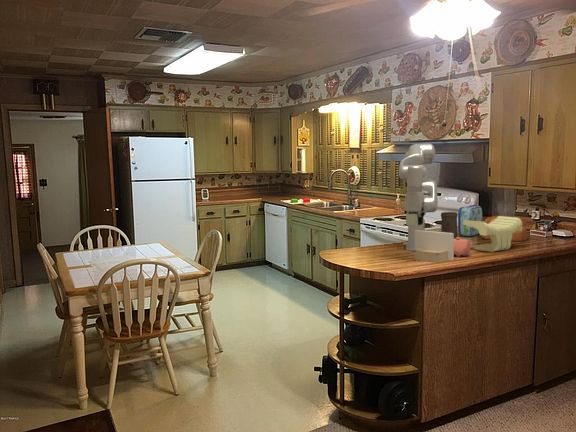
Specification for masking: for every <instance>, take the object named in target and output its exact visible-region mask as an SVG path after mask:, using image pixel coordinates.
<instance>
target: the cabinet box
mask: <svg viewBox="0 0 576 432" xmlns="http://www.w3.org/2000/svg"><path fill="white" fill-rule="evenodd" d="M418 217H419V215H418V212H412V213H409V214H405V226H407V227H408V226H420V225H418ZM424 220H425V216H424V217H423V224H421V225H424Z"/></svg>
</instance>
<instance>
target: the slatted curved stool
mask: <svg viewBox="0 0 576 432" xmlns="http://www.w3.org/2000/svg"><path fill="white" fill-rule="evenodd" d="M497 216H498V217H497V219H495V220H493V221H492V222H490V223H489V224H487V223H484V221H482V222H480V221H470V220H463V225H467V226H470V227H473V228H475V229H478V231H479V234H478V235H479V236H482V235H484V236H487V235H489V236H490V238H491V239H490V241H491V243H484V244H475V245H474V246H473V250H479V251H484V252H489V253H492V252H500V251H507V250H510V248H511V245H512V241H511V239H512V233H514V232H515V231H522V221H521V220H520V219H519V218H520V217H517V216H508V217H504V216H505V215H497ZM516 217H517V218H516Z"/></svg>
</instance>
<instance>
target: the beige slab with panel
mask: <svg viewBox="0 0 576 432" xmlns="http://www.w3.org/2000/svg"><path fill="white" fill-rule="evenodd" d="M454 256H455V255H454V233H445V232H441V231H434V230H433V231H432V230H425V231H421V230H415V250H414V251H413V260H416V261H423V262H429V263H437V264H438V263H442V262H446V261H454Z"/></svg>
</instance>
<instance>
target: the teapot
mask: <svg viewBox="0 0 576 432" xmlns="http://www.w3.org/2000/svg"><path fill="white" fill-rule="evenodd" d="M471 242H472V240H468V239H464V238H461V236H460V237H459V236H457V237H456V239H454V256H456V258H461V256H462V257H467V255H469V254H470V251H471V249H470V248H471V247H470V246H471V245H470V244H471Z"/></svg>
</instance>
